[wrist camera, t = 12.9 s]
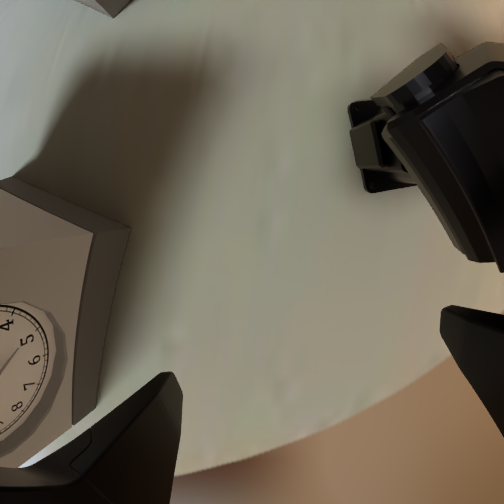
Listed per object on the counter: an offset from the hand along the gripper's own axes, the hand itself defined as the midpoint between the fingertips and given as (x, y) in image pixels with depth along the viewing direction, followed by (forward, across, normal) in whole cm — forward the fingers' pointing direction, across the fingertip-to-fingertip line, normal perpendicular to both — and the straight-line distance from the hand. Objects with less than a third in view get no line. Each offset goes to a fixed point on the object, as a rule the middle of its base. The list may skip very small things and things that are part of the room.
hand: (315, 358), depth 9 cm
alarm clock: (+13, +22, 0) cm, 26 cm away
